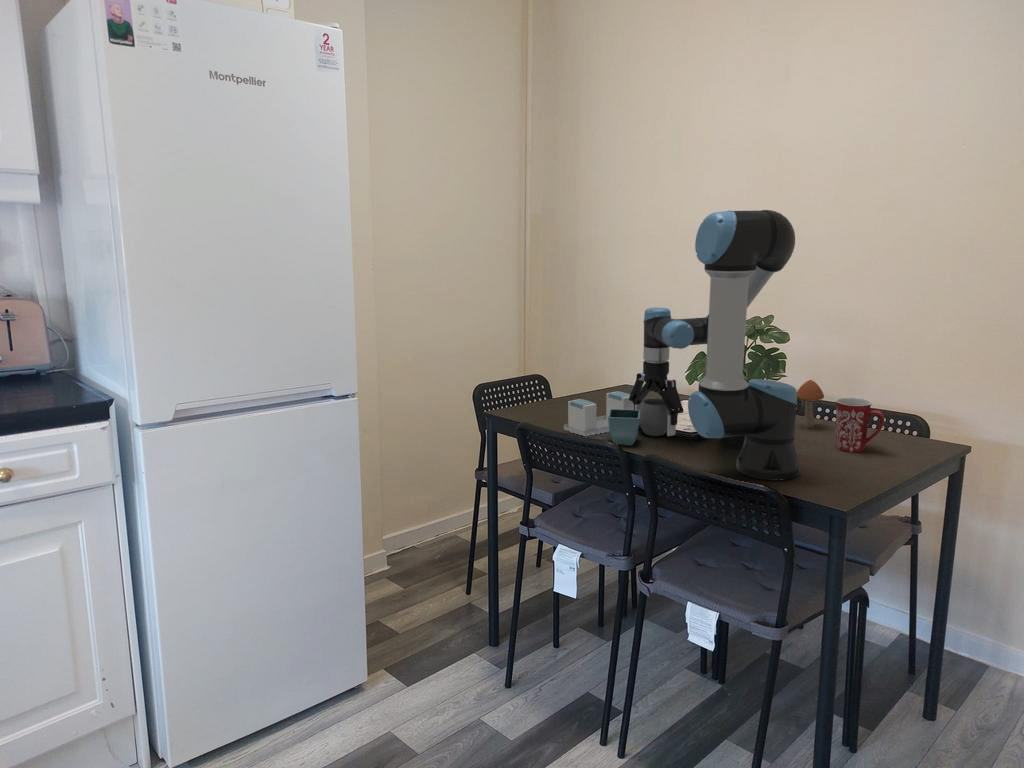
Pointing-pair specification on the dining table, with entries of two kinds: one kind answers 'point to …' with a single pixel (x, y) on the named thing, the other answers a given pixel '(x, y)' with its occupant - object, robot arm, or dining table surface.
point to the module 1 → (581, 415)
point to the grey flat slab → (601, 427)
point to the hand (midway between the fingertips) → (654, 429)
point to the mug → (854, 423)
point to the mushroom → (809, 400)
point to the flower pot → (623, 425)
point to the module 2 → (618, 402)
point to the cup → (654, 417)
